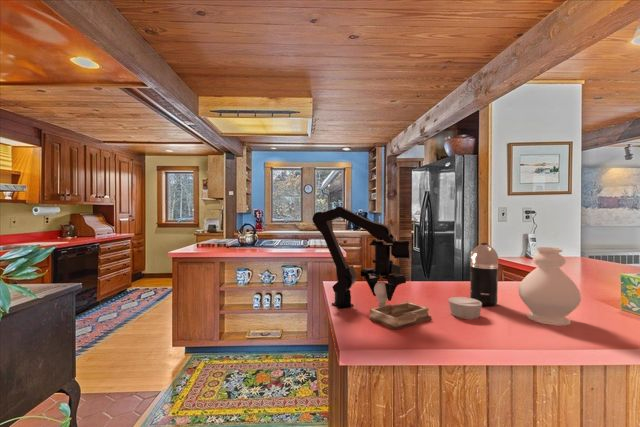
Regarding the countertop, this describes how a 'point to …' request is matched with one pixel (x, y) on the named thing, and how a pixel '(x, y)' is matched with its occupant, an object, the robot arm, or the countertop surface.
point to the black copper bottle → (484, 275)
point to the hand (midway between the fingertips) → (382, 298)
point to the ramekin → (465, 307)
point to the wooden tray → (399, 315)
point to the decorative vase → (549, 289)
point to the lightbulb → (381, 293)
